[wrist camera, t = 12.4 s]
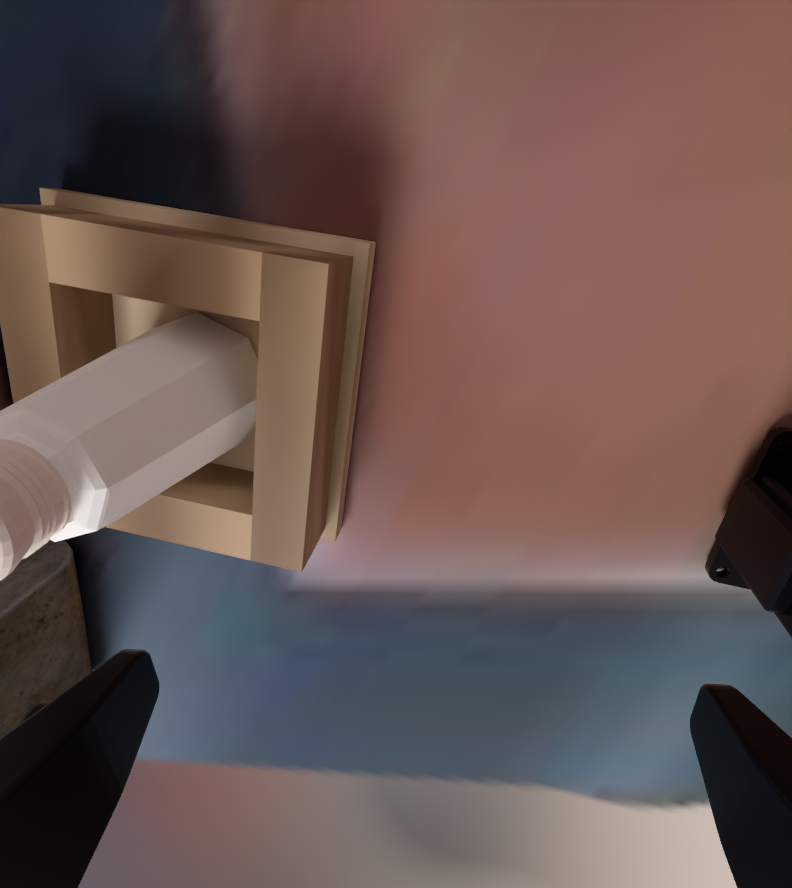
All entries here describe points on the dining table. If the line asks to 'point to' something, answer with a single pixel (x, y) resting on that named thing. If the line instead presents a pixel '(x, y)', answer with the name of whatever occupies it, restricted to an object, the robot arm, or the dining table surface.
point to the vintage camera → (40, 633)
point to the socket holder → (227, 302)
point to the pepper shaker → (121, 431)
